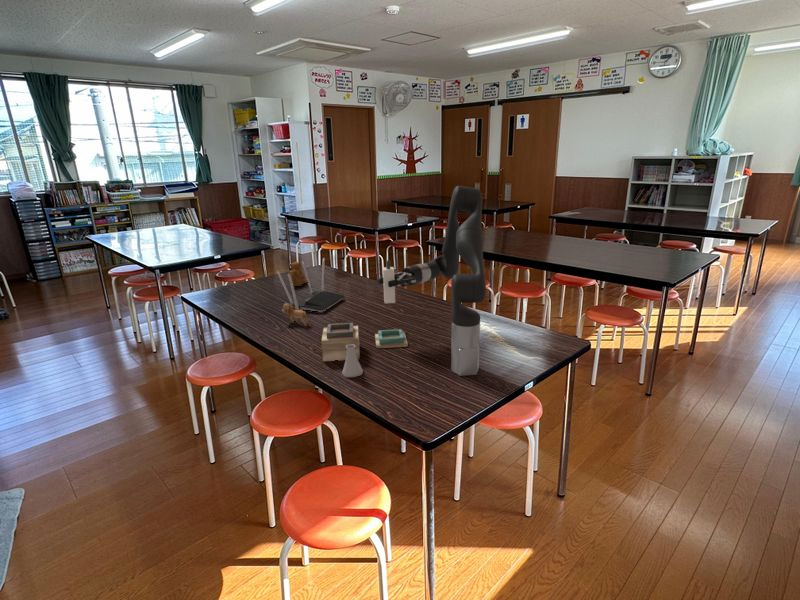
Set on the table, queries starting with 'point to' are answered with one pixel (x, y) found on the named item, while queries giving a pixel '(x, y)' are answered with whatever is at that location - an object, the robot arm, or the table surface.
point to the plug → (387, 276)
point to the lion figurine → (295, 313)
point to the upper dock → (339, 341)
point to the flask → (351, 363)
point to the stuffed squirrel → (297, 274)
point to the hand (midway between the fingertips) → (383, 282)
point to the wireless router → (312, 295)
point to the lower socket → (390, 338)
